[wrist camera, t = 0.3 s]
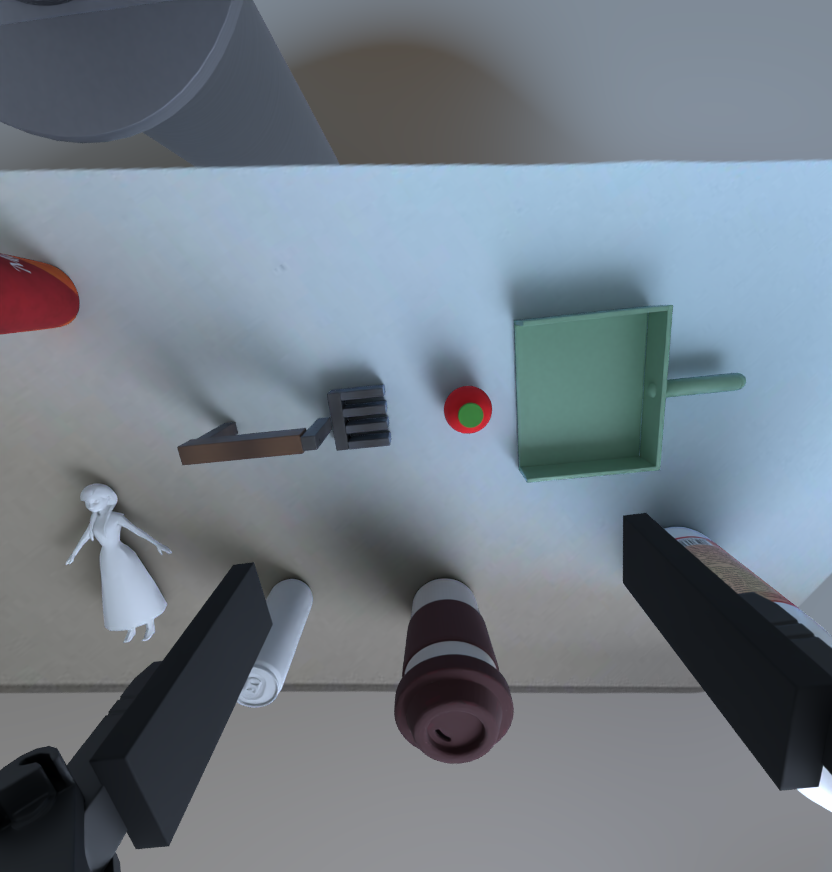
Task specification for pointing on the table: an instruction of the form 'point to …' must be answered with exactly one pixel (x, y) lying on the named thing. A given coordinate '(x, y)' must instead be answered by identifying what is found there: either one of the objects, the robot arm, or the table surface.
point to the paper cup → (34, 296)
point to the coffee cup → (451, 678)
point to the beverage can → (278, 642)
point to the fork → (297, 432)
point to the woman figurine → (121, 567)
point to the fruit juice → (745, 581)
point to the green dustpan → (597, 392)
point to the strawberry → (468, 409)
